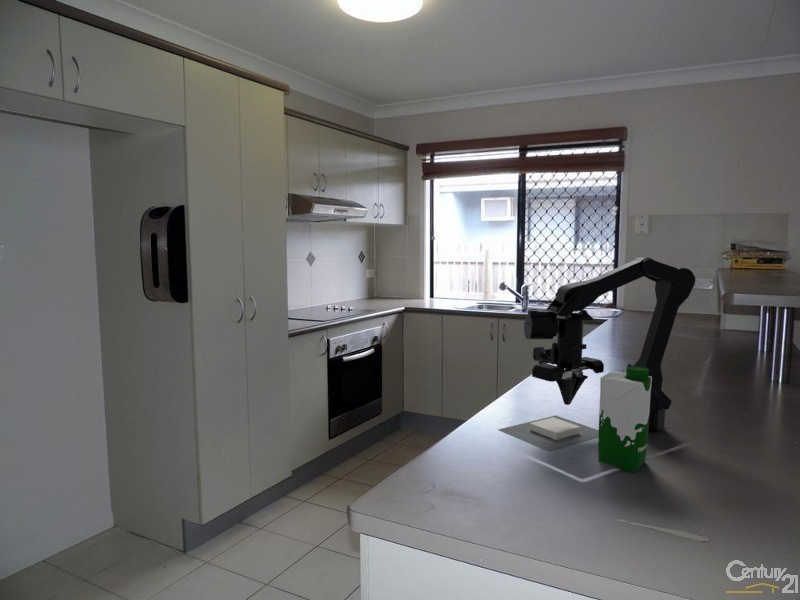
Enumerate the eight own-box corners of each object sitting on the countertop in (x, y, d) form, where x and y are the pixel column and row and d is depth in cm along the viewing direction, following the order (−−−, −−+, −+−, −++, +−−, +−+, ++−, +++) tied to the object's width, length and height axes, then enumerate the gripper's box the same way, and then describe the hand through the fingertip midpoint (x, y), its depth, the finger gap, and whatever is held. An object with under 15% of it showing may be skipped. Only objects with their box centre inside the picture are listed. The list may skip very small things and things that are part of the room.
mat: (609, 436, 127) (609, 433, 127) (549, 454, 116) (549, 451, 116) (555, 417, 141) (555, 415, 140) (497, 432, 130) (497, 429, 130)
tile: (580, 426, 127) (556, 433, 122) (580, 434, 127) (556, 440, 122) (553, 417, 133) (529, 423, 129) (553, 424, 133) (529, 430, 129)
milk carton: (638, 475, 106) (643, 374, 104) (591, 463, 112) (595, 367, 109) (651, 461, 113) (656, 366, 110) (606, 451, 118) (610, 359, 116)
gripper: (569, 331, 140) (566, 391, 141) (515, 337, 130) (513, 401, 131) (606, 337, 130) (603, 401, 132) (552, 345, 120) (549, 414, 122)
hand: (567, 404), depth 130 cm, fingers closed
